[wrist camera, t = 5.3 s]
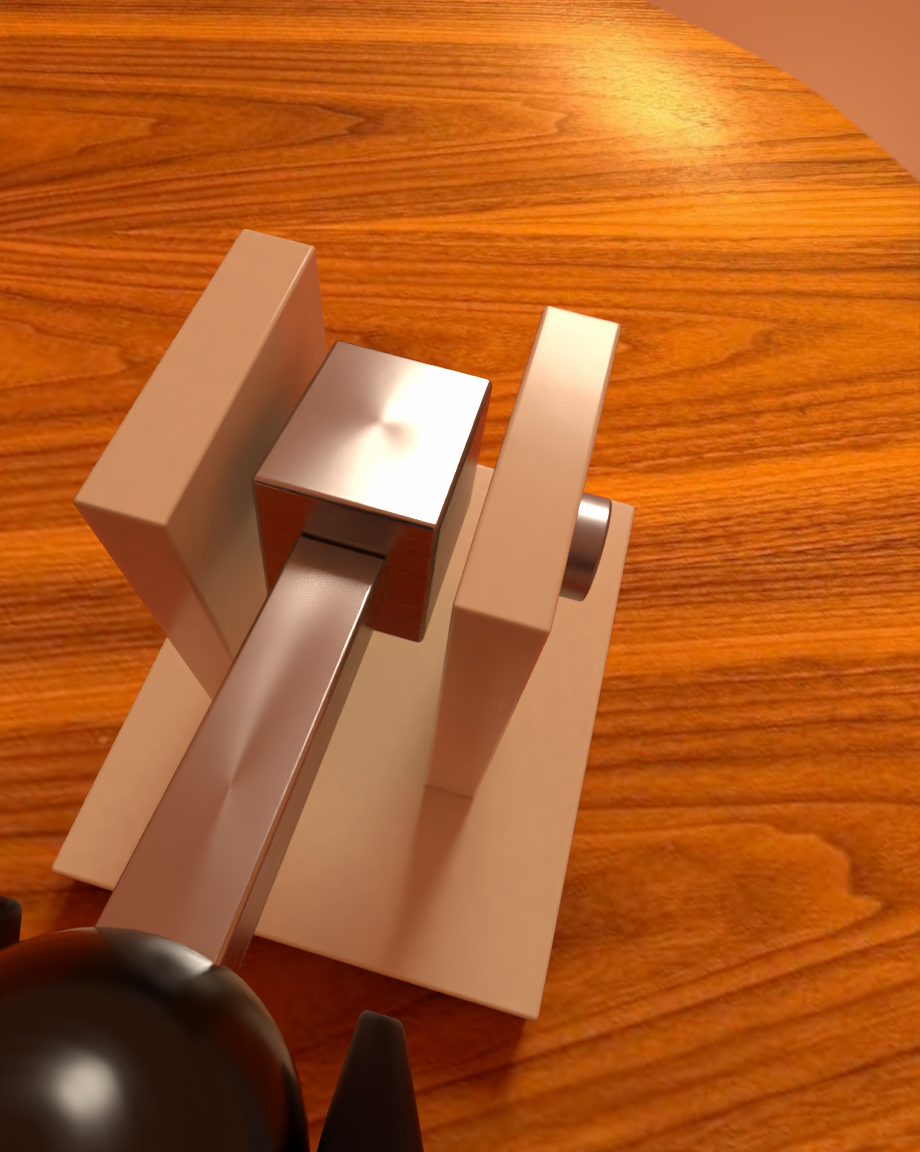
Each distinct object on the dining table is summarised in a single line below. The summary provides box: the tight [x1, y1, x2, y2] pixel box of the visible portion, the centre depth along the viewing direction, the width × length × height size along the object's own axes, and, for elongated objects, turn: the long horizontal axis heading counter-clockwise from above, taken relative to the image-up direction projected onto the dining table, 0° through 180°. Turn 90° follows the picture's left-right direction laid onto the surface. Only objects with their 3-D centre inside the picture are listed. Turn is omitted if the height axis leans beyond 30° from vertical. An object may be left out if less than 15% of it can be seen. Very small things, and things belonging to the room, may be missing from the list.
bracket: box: [52, 229, 635, 1021], centre depth 13 cm, size 11×9×9 cm
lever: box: [0, 341, 492, 1152], centre depth 8 cm, size 11×4×4 cm, turn 165°
